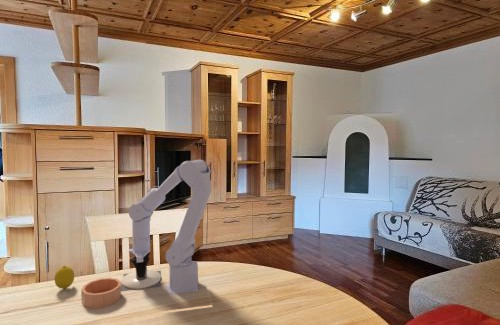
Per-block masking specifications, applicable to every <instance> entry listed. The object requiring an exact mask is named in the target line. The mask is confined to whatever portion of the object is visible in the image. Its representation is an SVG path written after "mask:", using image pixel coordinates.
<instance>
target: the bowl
mask: <svg viewBox="0 0 500 325" xmlns="http://www.w3.org/2000/svg"><path fill="white" fill-rule="evenodd" d="M121 283H122V281H121V280H119V279H118V278H112V277H104V278H99V279H95V280H91V281H89V282H88V283H86V284H84V285H83V286H82V288H81V291H80V292H81V294H80V295H81V296H80V297H81V303H82V305H83V306H84V307H86V308H94V309H95V308H96V309H97V308H104V307H108V306H109V305H112V304H115V303H117V301H119V300H120V299H121V296H122V291H121Z"/></svg>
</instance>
